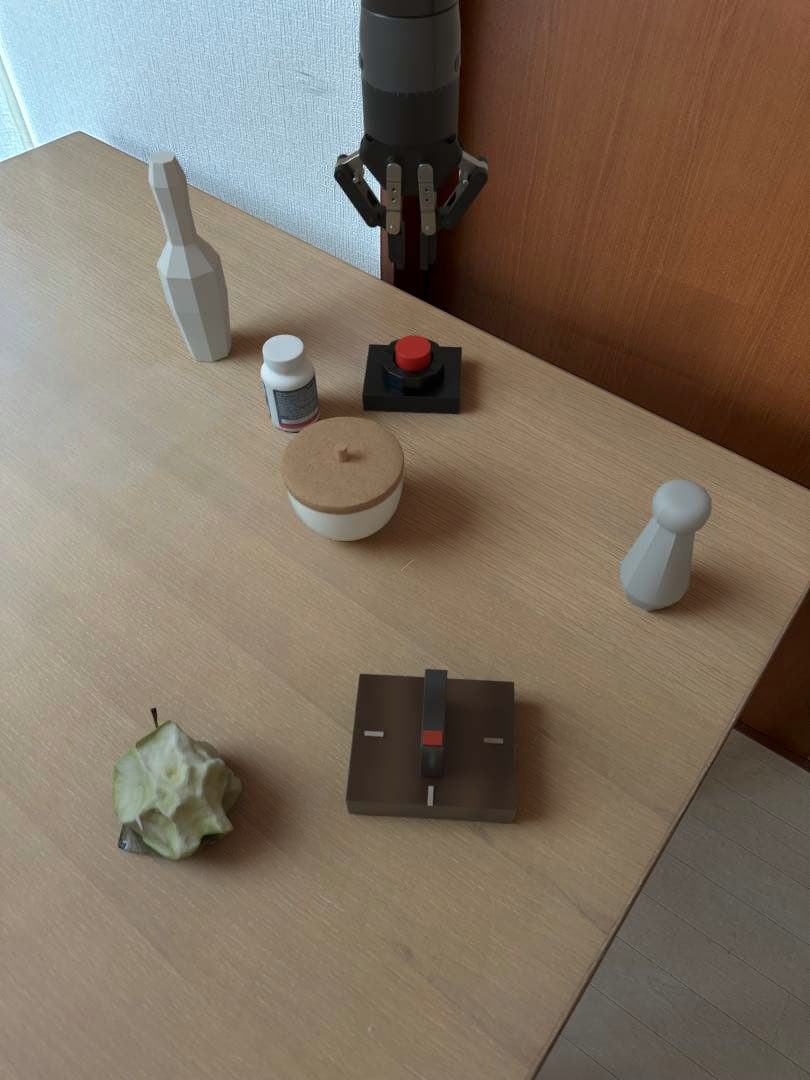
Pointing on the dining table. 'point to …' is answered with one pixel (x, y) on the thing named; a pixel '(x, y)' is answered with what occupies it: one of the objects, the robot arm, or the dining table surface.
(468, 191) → the robot arm
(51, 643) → the dining table surface
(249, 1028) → the dining table surface
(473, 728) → the handle panel
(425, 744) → the handle
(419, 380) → the button block
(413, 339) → the red button
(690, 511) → the salt shaker
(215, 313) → the faceted bottle
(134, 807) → the fruit
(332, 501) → the trinket box
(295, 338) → the pill bottle
